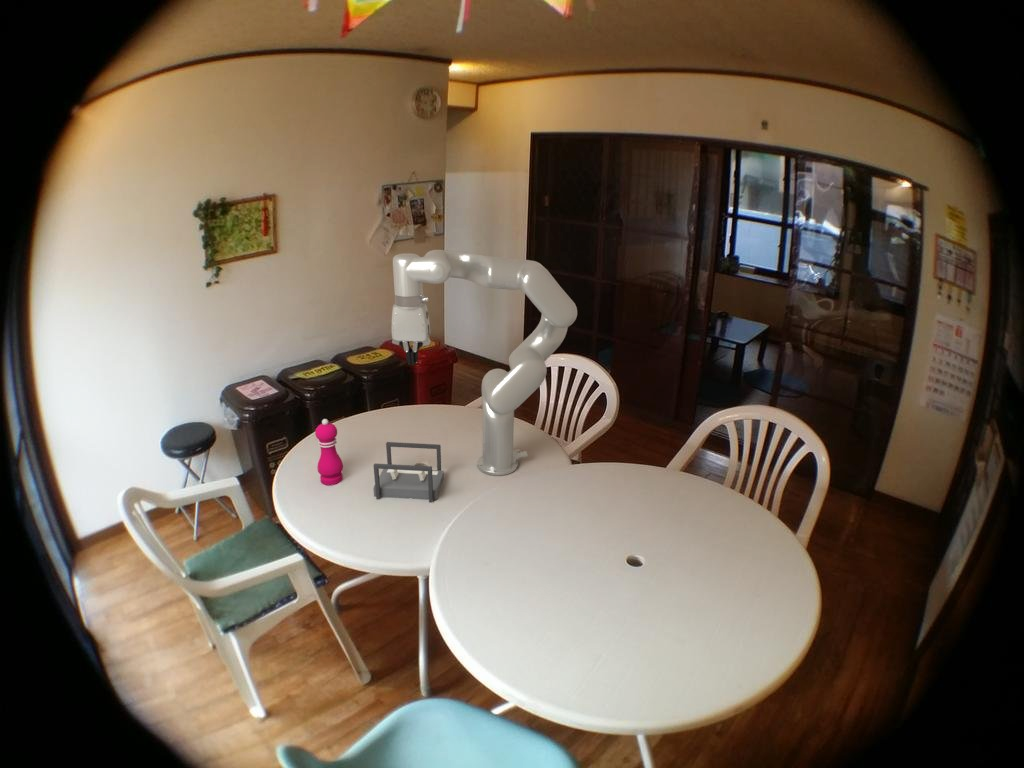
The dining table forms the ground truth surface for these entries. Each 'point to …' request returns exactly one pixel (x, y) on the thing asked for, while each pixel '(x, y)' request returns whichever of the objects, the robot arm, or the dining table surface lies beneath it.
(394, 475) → the paddle
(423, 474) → the cream cuboid
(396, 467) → the dark grey open frame
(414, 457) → the dining table surface
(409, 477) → the breaker panel
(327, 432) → the pepper mill
